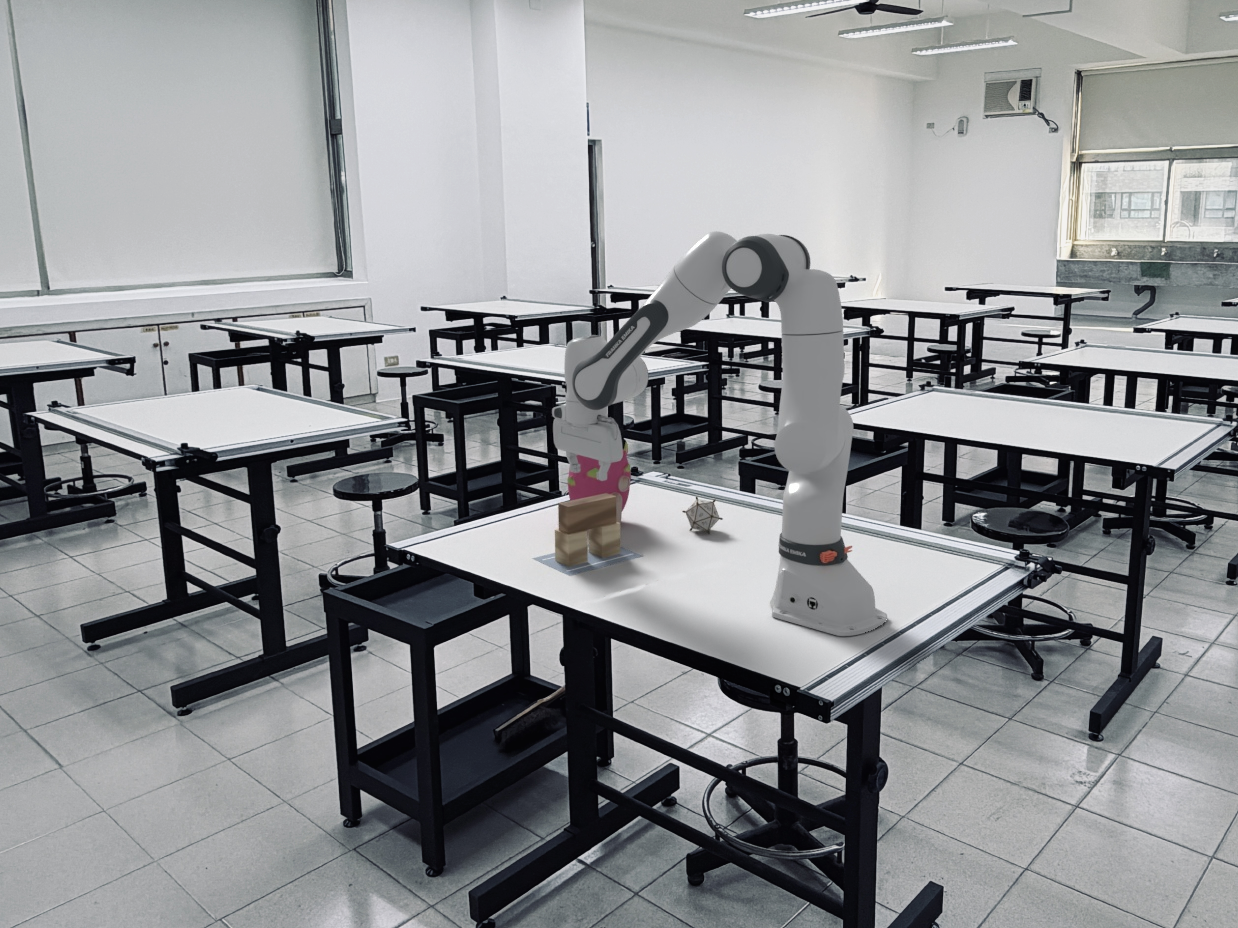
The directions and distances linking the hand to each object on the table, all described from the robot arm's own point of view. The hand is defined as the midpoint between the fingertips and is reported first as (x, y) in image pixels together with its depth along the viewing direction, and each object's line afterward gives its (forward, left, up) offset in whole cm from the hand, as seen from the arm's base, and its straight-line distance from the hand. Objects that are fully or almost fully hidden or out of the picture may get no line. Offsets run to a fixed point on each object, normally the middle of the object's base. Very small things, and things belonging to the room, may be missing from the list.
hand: (588, 476), depth 219 cm
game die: (0, -34, -19) cm, 39 cm away
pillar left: (0, +5, -18) cm, 19 cm away
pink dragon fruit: (+18, -17, -19) cm, 31 cm away
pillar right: (0, -4, -18) cm, 19 cm away
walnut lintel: (0, 0, -11) cm, 11 cm away
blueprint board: (0, 0, -19) cm, 19 cm away
